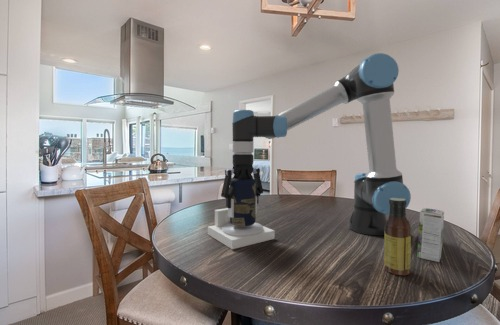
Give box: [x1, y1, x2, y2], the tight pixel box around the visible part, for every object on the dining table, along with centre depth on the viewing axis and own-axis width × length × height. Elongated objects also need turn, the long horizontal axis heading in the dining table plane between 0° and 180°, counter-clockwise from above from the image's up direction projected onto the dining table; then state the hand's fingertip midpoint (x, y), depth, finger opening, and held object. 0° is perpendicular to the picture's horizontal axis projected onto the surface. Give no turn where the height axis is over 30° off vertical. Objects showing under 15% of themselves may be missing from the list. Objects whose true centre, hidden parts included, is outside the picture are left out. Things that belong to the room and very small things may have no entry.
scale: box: [207, 207, 276, 250], centre depth 99 cm, size 18×18×9 cm
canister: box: [230, 178, 257, 227], centre depth 97 cm, size 10×10×18 cm
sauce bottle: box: [383, 198, 412, 276], centre depth 71 cm, size 6×6×20 cm
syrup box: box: [416, 207, 445, 263], centre depth 81 cm, size 6×6×14 cm
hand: (242, 214), depth 97 cm, fingers closed on canister, 9 cm apart
